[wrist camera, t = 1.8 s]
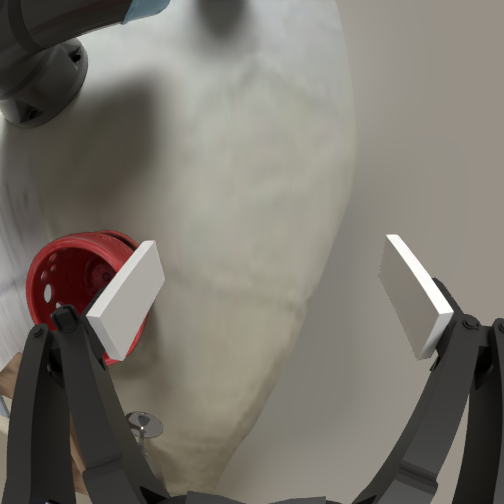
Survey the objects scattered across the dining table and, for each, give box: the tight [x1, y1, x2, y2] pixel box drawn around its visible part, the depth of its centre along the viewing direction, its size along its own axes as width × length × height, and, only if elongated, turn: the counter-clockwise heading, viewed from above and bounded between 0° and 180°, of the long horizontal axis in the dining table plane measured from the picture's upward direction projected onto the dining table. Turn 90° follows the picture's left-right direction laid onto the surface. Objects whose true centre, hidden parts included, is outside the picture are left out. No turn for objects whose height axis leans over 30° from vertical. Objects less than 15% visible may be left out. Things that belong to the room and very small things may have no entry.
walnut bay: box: [0, 353, 89, 495], centre depth 28 cm, size 13×26×10 cm, turn 172°
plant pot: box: [26, 230, 149, 366], centre depth 26 cm, size 13×13×12 cm
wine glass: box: [125, 412, 167, 490], centre depth 29 cm, size 8×8×15 cm
